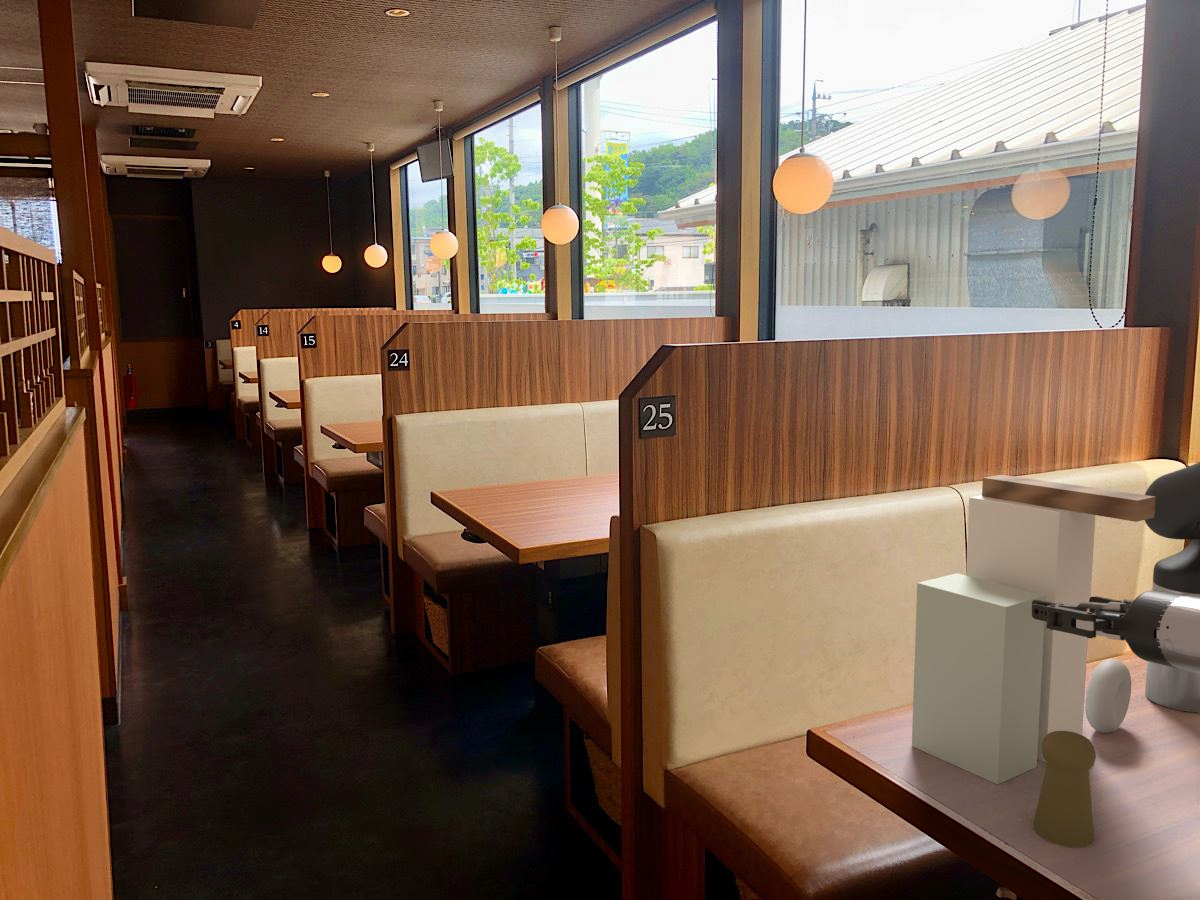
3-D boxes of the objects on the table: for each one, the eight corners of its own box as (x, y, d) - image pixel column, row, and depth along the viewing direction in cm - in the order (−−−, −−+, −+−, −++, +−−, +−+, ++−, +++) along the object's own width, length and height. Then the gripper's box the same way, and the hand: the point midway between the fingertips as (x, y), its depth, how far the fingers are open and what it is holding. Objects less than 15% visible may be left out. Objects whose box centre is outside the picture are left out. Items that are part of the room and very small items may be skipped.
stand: (1081, 746, 121) (1096, 505, 117) (997, 784, 111) (1010, 523, 107) (995, 713, 131) (1005, 490, 127) (911, 745, 122) (919, 506, 117)
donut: (1107, 747, 121) (1112, 673, 119) (1079, 738, 123) (1083, 666, 122) (1132, 723, 127) (1137, 653, 126) (1105, 716, 130) (1109, 647, 129)
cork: (1108, 840, 99) (1114, 743, 98) (1064, 852, 97) (1070, 752, 96) (1062, 813, 105) (1068, 720, 103) (1020, 823, 103) (1025, 729, 101)
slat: (981, 496, 123) (982, 477, 123) (1000, 492, 126) (1001, 474, 125) (1136, 521, 107) (1137, 500, 106) (1154, 517, 109) (1155, 496, 109)
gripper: (1241, 593, 96) (1109, 572, 111) (1136, 599, 92) (1014, 577, 107) (1240, 665, 96) (1109, 635, 111) (1135, 675, 92) (1013, 642, 107)
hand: (1063, 606), depth 109 cm, fingers open, 8 cm apart
